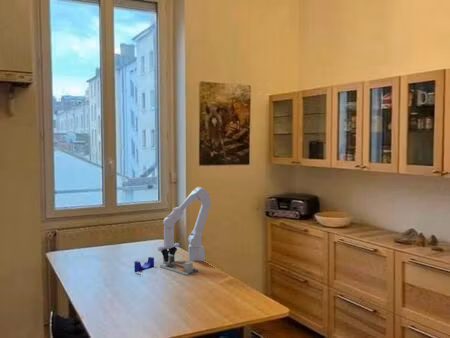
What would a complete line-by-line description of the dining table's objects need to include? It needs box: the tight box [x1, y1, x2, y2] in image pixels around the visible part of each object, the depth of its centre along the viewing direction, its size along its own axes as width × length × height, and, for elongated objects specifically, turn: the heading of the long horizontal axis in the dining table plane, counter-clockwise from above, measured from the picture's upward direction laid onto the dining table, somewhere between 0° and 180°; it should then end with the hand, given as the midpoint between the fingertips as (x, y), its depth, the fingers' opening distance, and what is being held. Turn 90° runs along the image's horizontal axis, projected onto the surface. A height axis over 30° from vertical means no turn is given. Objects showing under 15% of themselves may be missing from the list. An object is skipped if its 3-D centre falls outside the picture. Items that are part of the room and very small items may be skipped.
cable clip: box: [133, 256, 155, 273], centre depth 258 cm, size 12×4×6 cm, turn 144°
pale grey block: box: [162, 254, 176, 265], centre depth 271 cm, size 4×6×5 cm, turn 48°
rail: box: [159, 262, 201, 277], centre depth 255 cm, size 10×22×2 cm, turn 48°
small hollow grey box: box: [183, 261, 194, 273], centre depth 250 cm, size 4×3×5 cm
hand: (168, 260), depth 271 cm, fingers closed on pale grey block, 3 cm apart
